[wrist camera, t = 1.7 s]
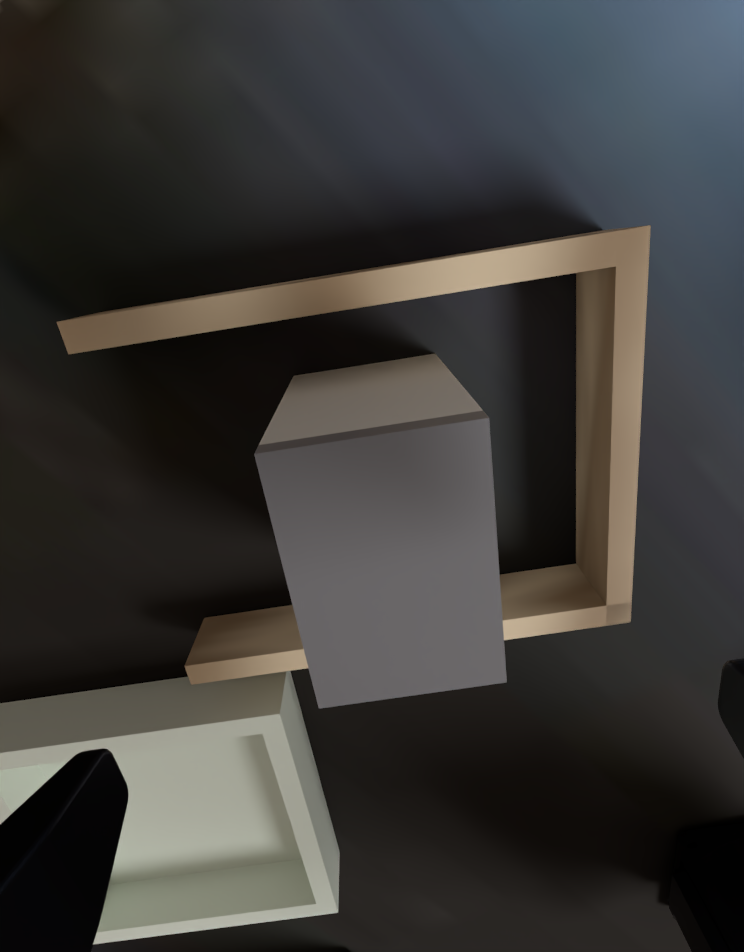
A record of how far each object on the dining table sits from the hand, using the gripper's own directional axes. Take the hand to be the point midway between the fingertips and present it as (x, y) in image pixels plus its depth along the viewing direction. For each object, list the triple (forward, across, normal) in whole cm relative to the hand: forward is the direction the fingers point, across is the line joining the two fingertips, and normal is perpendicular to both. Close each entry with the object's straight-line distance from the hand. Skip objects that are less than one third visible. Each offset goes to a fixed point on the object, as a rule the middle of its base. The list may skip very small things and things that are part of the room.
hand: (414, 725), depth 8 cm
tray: (+10, +11, +13) cm, 20 cm away
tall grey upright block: (+11, 0, 0) cm, 11 cm away
